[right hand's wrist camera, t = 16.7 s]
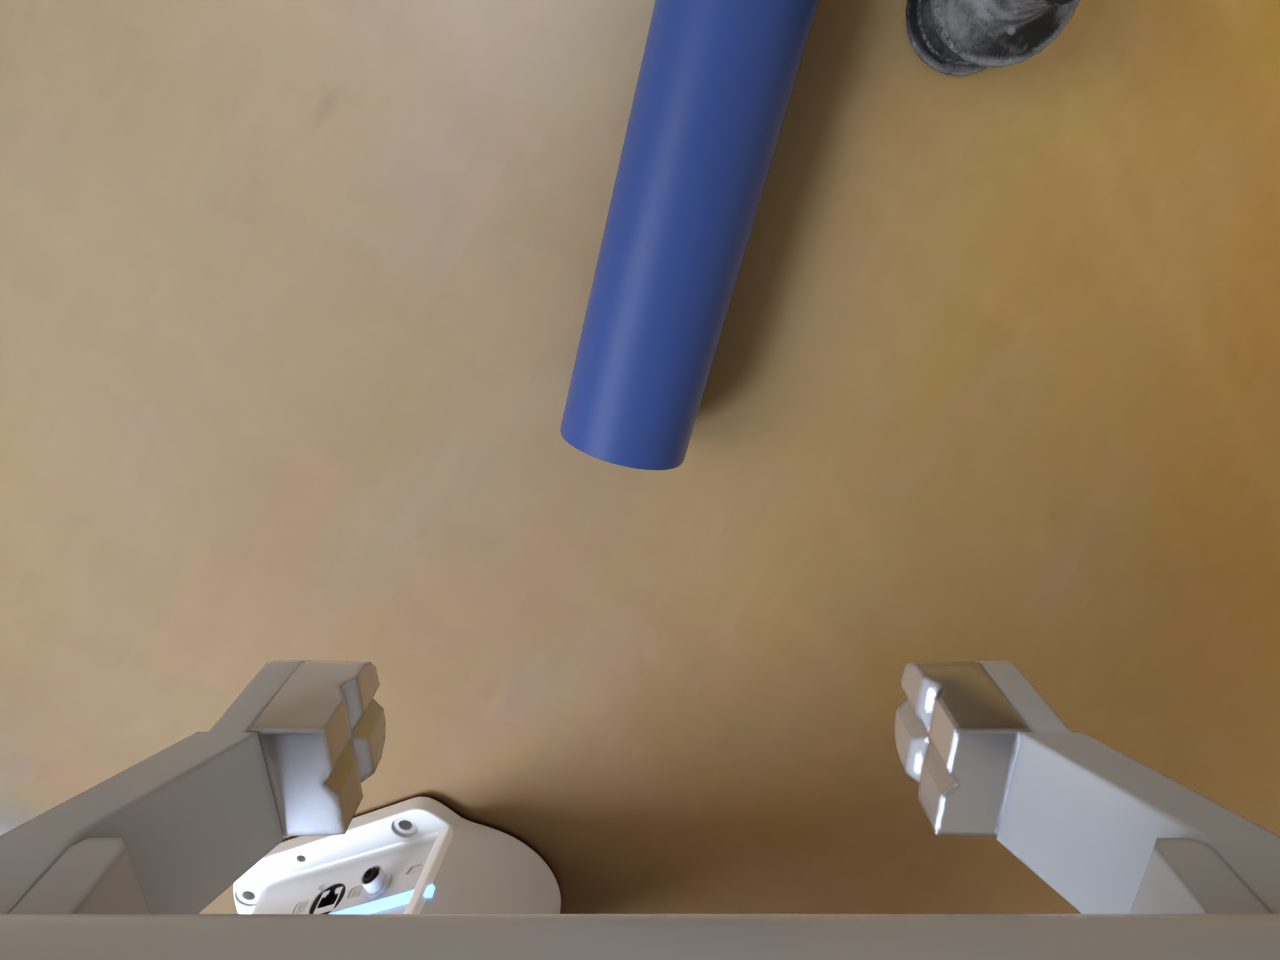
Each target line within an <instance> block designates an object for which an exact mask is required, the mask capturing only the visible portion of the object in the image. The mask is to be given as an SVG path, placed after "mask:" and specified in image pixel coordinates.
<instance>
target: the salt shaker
mask: <svg viewBox="0 0 1280 960" xmlns="http://www.w3.org/2000/svg"><path fill="white" fill-rule="evenodd" d="M1078 3H1079V0H908V1H907V7H906V21H907V31H908V34H909V37H910V40H911V43H912V46H913V48H914V49H915V51H916V52H917V54H918V55H919V57H920V58H921V60H922V61H924V62H925V63H926V64H927V65H929V66H930V67H931V68H932V69H934V70H936V71H939V72H942V73H944V74H947V75H967V74H971V73H975V72H979V71H981V70H983V69H985V68H987V67H1004V66H1008V65H1012V64H1016V63H1020V62H1023V61H1024V60H1026V59H1028V58H1030V57H1032V56H1033V55H1035V54H1037V53H1039V52H1041V51H1042V50H1043V49H1044V48H1045V47H1046V46H1047V45H1049V44H1050V43H1051V42H1052V41H1053V40H1054V39H1055V38H1056V37H1057V36H1058V35H1059V34H1060V33H1061V31H1062V30H1063V28H1064V27H1065V26H1066V24H1067V23H1068V22H1069V20H1070V19H1071V17H1072V16H1073V14H1074V11H1075V9H1076V7H1077V5H1078Z"/></svg>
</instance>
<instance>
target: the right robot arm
mask: <svg viewBox="0 0 1280 960" xmlns="http://www.w3.org/2000/svg"><path fill="white" fill-rule="evenodd" d="M378 687H379V680H378V675H377V670H376V667H375V666H374V665H373V664H372V663H371V662H349V661H272V662H269V663H267V664H266V665H265V666H264V667H263V668H262V669H261V670H260V671H259V673H258V674H257V675H256V676H255V677H254V679H253V680H252V681H251V682H250V683H249V684H248V686H247V687H246V688H245V689H244V690H243V692H242V693H241V694H240V695H239V696H238V697H237V699H236V700H235V701H234V702H233V703H232V705H231V706H230V707H229V708H228V709H227V711H226V712H225V713H224V714H223V715H222V716H221V718H220V719H219V720H218V721H217V722H216V724H215V725H214V726H213V727H212V728H211V729H210V731H209V732H197V733H195V734H193V735H191V736H189V737H187V738H185V739H184V740H182V741H180V742H178V743H176V744H174V745H172V746H170V747H168V748H166V749H165V750H163V751H161V752H159V753H157V754H155V755H153V756H151V757H149V758H147V759H146V760H144V761H142V762H140V763H138V764H136V765H134V766H132V767H130V768H128V769H127V770H125V771H123V772H121V773H119V774H117V775H115V776H113V777H111V778H109V779H108V780H106V781H104V782H102V783H100V784H98V785H96V786H94V787H92V788H90V789H88V790H87V791H85V792H83V793H81V794H79V795H77V796H75V797H73V798H71V799H69V800H68V801H66V802H64V803H62V804H60V805H58V806H56V807H54V808H52V809H50V810H49V811H47V812H45V813H43V814H41V815H39V816H37V817H35V818H33V819H31V820H30V821H28V822H26V823H24V824H22V825H20V826H18V827H16V828H14V829H12V830H11V831H9V832H7V833H5V834H3V835H2V836H1V837H0V960H1280V836H1278V835H1276V834H1275V833H1273V832H1271V831H1269V830H1267V829H1265V828H1263V827H1261V826H1259V825H1258V824H1256V823H1254V822H1252V821H1250V820H1248V819H1246V818H1244V817H1242V816H1240V815H1239V814H1237V813H1235V812H1233V811H1231V810H1229V809H1227V808H1225V807H1223V806H1222V805H1220V804H1218V803H1216V802H1214V801H1212V800H1210V799H1208V798H1206V797H1204V796H1203V795H1201V794H1199V793H1197V792H1195V791H1193V790H1191V789H1189V788H1187V787H1186V786H1184V785H1182V784H1180V783H1178V782H1176V781H1174V780H1172V779H1170V778H1168V777H1167V776H1165V775H1163V774H1161V773H1159V772H1157V771H1155V770H1153V769H1151V768H1150V767H1148V766H1146V765H1144V764H1142V763H1140V762H1138V761H1136V760H1134V759H1132V758H1131V757H1129V756H1127V755H1125V754H1123V753H1121V752H1119V751H1117V750H1115V749H1114V748H1112V747H1110V746H1108V745H1106V744H1104V743H1102V742H1100V741H1098V740H1096V739H1095V738H1093V737H1091V736H1089V735H1087V734H1085V733H1083V732H1071V731H1070V730H1069V728H1068V727H1067V726H1066V725H1065V724H1064V722H1063V721H1062V720H1061V719H1060V718H1059V716H1058V715H1057V714H1056V713H1055V712H1054V711H1053V709H1052V708H1051V707H1050V706H1049V705H1048V703H1047V702H1046V701H1045V700H1044V699H1043V698H1042V696H1041V695H1040V694H1039V693H1038V692H1037V690H1036V689H1035V688H1034V687H1033V686H1032V685H1031V683H1030V682H1029V681H1028V680H1027V679H1026V677H1025V676H1024V675H1023V674H1022V673H1021V672H1020V670H1019V669H1018V668H1017V667H1016V666H1015V665H1014V664H1013V663H1011V662H1009V661H1007V660H992V661H973V662H924V663H907V664H906V666H905V668H904V670H903V673H902V679H901V687H902V689H903V691H904V693H905V694H906V696H907V699H906V700H905V701H904V702H903V703H902V704H901V705H900V706H899V707H898V708H897V709H896V717H895V725H894V731H895V743H896V749H897V752H898V756H899V759H900V762H901V764H902V766H903V768H904V770H905V773H906V774H908V775H909V776H910V777H912V778H913V779H915V780H916V781H917V782H919V789H918V794H917V798H918V800H919V802H920V804H921V806H922V808H923V810H924V812H925V814H926V816H927V818H928V820H929V822H930V824H931V827H932V829H933V831H934V833H935V835H967V836H997V838H996V840H998V841H999V842H1000V843H1001V844H1002V845H1003V846H1005V847H1006V848H1007V849H1008V850H1009V851H1010V852H1011V853H1013V854H1014V855H1015V856H1016V857H1017V858H1018V859H1020V860H1021V861H1022V862H1023V863H1024V864H1025V865H1026V866H1028V867H1029V868H1030V869H1031V870H1032V871H1033V872H1034V873H1036V874H1037V875H1038V876H1039V877H1040V878H1041V879H1043V880H1044V881H1045V882H1046V883H1047V884H1048V885H1049V886H1051V887H1052V888H1053V889H1054V890H1055V891H1056V892H1058V893H1059V894H1060V895H1061V896H1062V897H1063V898H1064V899H1066V900H1067V901H1068V902H1069V903H1070V904H1071V905H1073V906H1074V907H1075V908H1076V909H1077V910H1078V911H1079V912H1081V913H1082V914H560V909H561V895H560V890H559V886H558V883H557V881H556V878H555V876H554V874H553V873H552V871H551V870H550V868H549V867H548V865H547V864H546V863H545V862H544V860H543V859H542V858H541V857H540V856H539V855H538V854H537V853H536V852H535V851H533V850H532V849H531V848H530V847H528V846H527V845H526V844H524V843H523V842H521V841H519V840H518V839H516V838H514V837H512V836H510V835H508V834H506V833H504V832H501V831H499V830H496V829H493V828H490V827H487V826H484V825H481V824H477V823H474V822H471V821H468V820H466V819H464V818H462V817H460V816H459V815H458V814H456V813H455V812H453V811H452V810H451V809H449V808H448V807H446V806H445V805H443V804H442V803H440V802H438V801H436V800H434V799H432V798H429V797H415V798H412V799H409V800H406V801H403V802H400V803H397V804H394V805H391V806H388V807H385V808H382V809H379V810H376V811H373V812H370V813H367V814H364V815H361V816H358V817H355V818H353V816H354V814H355V812H356V810H357V808H358V806H359V804H360V802H361V800H362V798H363V794H362V789H361V782H363V781H364V780H365V779H367V778H368V777H370V776H371V775H372V774H374V773H375V770H376V768H377V766H378V764H379V761H380V759H381V756H382V752H383V747H384V742H385V727H386V722H385V715H384V709H383V708H382V707H381V706H380V705H379V704H378V703H377V702H376V701H375V700H374V699H373V696H374V694H375V693H376V691H377V689H378ZM283 836H299V837H296V838H293V839H290V840H287V841H284V842H282V841H283V839H284V838H283ZM280 842H281V843H280ZM233 883H234V884H233ZM232 884H233V890H234V899H235V904H236V908H237V911H238V914H198V913H200V912H201V911H202V910H203V909H204V908H205V907H206V906H208V905H209V904H210V903H211V902H212V901H213V900H215V899H216V898H217V897H218V896H219V895H220V894H222V893H223V892H224V891H225V890H226V889H227V888H228V887H230V886H231V885H232Z"/></svg>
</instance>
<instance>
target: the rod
mask: <svg viewBox="0 0 1280 960" xmlns="http://www.w3.org/2000/svg"><path fill="white" fill-rule="evenodd" d="M818 2H819V0H656V1H655V6H654V10H653V15H652V19H651V24H650V28H649V33H648V37H647V42H646V46H645V51H644V55H643V60H642V64H641V69H640V73H639V78H638V82H637V87H636V91H635V96H634V100H633V105H632V109H631V114H630V118H629V123H628V127H627V132H626V136H625V141H624V145H623V150H622V154H621V159H620V163H619V168H618V172H617V177H616V181H615V186H614V190H613V195H612V199H611V204H610V208H609V213H608V217H607V222H606V226H605V231H604V235H603V240H602V244H601V249H600V253H599V258H598V262H597V267H596V271H595V276H594V280H593V285H592V289H591V294H590V298H589V303H588V307H587V312H586V316H585V321H584V325H583V330H582V334H581V339H580V343H579V348H578V352H577V357H576V361H575V366H574V370H573V375H572V379H571V384H570V388H569V393H568V397H567V402H566V406H565V411H564V415H563V420H562V424H561V429H560V431H561V435H562V437H563V438H564V439H565V440H566V441H567V442H568V443H569V444H571V445H572V446H574V447H575V448H577V449H579V450H580V451H582V452H584V453H586V454H588V455H591V456H593V457H596V458H598V459H601V460H604V461H607V462H610V463H614V464H618V465H621V466H626V467H631V468H637V469H645V470H668V469H673V468H676V467H678V466H680V465H681V464H682V463H683V461H684V458H685V454H686V451H687V447H688V444H689V441H690V437H691V434H692V430H693V427H694V424H695V420H696V417H697V413H698V410H699V407H700V403H701V400H702V396H703V393H704V390H705V386H706V383H707V379H708V376H709V373H710V369H711V366H712V362H713V359H714V356H715V352H716V349H717V345H718V342H719V339H720V335H721V332H722V328H723V325H724V322H725V318H726V315H727V311H728V308H729V305H730V301H731V298H732V294H733V291H734V287H735V284H736V281H737V277H738V274H739V270H740V267H741V264H742V260H743V257H744V253H745V250H746V247H747V243H748V240H749V236H750V233H751V230H752V226H753V223H754V219H755V216H756V213H757V209H758V206H759V202H760V199H761V196H762V192H763V189H764V185H765V182H766V179H767V175H768V172H769V168H770V165H771V162H772V158H773V155H774V151H775V148H776V145H777V141H778V138H779V134H780V131H781V128H782V124H783V121H784V117H785V114H786V111H787V107H788V104H789V100H790V97H791V94H792V90H793V87H794V83H795V80H796V77H797V73H798V70H799V66H800V63H801V60H802V56H803V53H804V49H805V46H806V43H807V39H808V36H809V32H810V29H811V26H812V22H813V19H814V15H815V12H816V9H817V5H818Z"/></svg>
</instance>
